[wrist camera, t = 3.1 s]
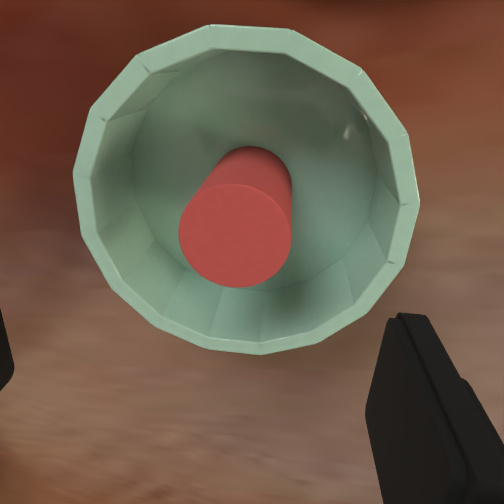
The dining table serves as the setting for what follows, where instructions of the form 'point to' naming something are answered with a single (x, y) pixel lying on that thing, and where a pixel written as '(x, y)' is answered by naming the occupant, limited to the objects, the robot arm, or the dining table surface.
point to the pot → (208, 155)
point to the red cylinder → (239, 219)
